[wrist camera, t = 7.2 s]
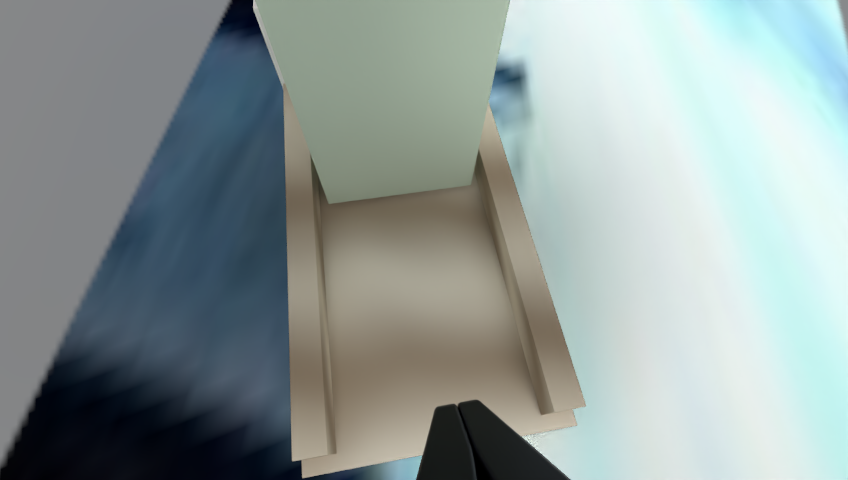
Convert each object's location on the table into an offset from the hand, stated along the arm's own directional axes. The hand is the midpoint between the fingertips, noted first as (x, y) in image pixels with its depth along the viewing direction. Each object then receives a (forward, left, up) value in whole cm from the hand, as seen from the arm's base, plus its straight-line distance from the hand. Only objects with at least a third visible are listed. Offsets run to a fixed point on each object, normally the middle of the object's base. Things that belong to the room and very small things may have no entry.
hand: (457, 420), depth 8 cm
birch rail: (+7, -4, -7) cm, 11 cm away
